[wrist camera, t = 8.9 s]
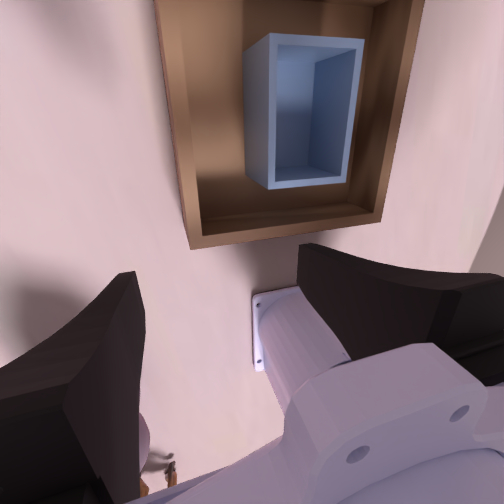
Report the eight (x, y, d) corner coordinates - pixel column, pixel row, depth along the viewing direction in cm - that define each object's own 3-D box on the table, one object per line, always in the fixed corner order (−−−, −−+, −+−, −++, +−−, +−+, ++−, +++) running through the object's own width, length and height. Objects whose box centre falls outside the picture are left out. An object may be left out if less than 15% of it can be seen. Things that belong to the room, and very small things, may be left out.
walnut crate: (348, 207, 24) (380, 222, 21) (184, 227, 20) (190, 250, 17) (378, -4, 18) (431, -32, 14) (149, -29, 14) (148, -76, 11)
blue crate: (309, 170, 21) (345, 182, 17) (245, 174, 19) (267, 189, 15) (318, 56, 17) (364, 39, 14) (242, 52, 16) (269, 32, 12)
